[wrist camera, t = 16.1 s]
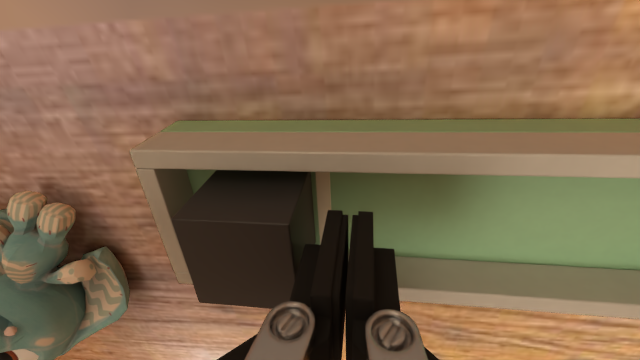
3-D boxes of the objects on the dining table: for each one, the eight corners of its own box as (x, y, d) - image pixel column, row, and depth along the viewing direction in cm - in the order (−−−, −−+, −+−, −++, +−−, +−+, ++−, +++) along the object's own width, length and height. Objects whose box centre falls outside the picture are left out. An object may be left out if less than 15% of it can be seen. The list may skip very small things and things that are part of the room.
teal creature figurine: (80, 292, 13) (46, 454, 17) (170, 215, 20) (131, 344, 24) (-189, 186, 12) (-157, 382, 16) (1, 144, 19) (-10, 290, 23)
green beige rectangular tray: (210, 237, 18) (177, 284, 15) (177, 119, 15) (127, 149, 12) (645, 260, 15) (715, 326, 12) (731, 117, 12) (859, 157, 8)
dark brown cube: (236, 237, 16) (198, 302, 12) (220, 164, 14) (169, 219, 10) (316, 241, 15) (299, 311, 12) (310, 166, 13) (289, 224, 10)
